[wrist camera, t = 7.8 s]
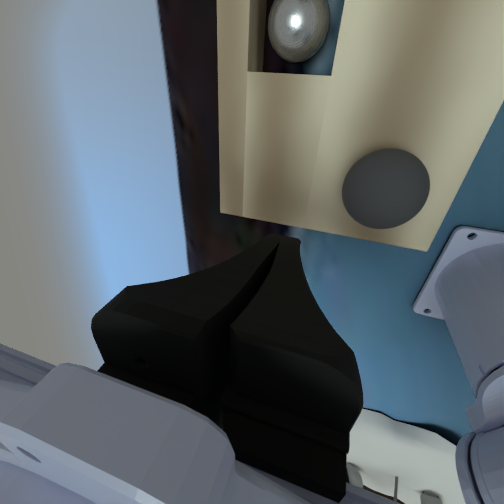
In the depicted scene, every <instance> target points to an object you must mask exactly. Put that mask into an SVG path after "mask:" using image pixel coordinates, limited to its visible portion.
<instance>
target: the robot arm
mask: <svg viewBox="0 0 504 504" xmlns="http://www.w3.org/2000/svg"><path fill="white" fill-rule="evenodd" d="M470 233H475V234H474V235H473V236H472V237H467V235H468V234H470ZM300 243H301V241H300V240H299V239H297V238H292V237H287V236H282V235H277V234H272V233H271V234H269V235H267V236H266V237H264V238H263V239H261V240H260V241H259V242H257V243H256V244H254V245H253V246H251V247H249V248H248V249H246V250H245V251H243V252H241V253H239V254H238V255H236V256H234V257H232V258H230V259H228V260H226V261H224V262H222V263H220V264H217V265H215V266H213V267H210V268H207V269H204V270H201V271H198V272H195V273H192V274H189V275H186V276H182V277H178V278H174V279H169V280H165V281H160V282H154V283H147V284H141V285H133V286H127V287H126V288H124V290H122V291H121V292H120V293H119V294H118V295H116V296H115V297H114V298H113V299H112V300H111V301H110V302H109V303H107V304H106V305H105V306H104V307H103V308H102V309H101V310H100V311H99V312H98V313H96V314H95V315H94V317H93V318H92V323H91V330H92V333H93V337H94V339H95V341H96V344H97V346H98V348H99V351H100V353H101V355H102V357H103V360H104V362H105V363H104V364H103V365H102V366H101V367H100V369H99V370H98V371H95V370H92V369H90V368H87V367H85V366H80V365H76V364H71V363H63V364H59V365H58V366H55V365H52V364H50V363H47V362H45V361H42V360H40V359H37V358H35V357H32V356H30V355H27V354H25V353H22V352H20V351H17V350H15V349H13V348H10V347H7V346H5V345H3V344H0V504H399V503H397V502H394V501H392V500H389V499H387V498H384V497H382V496H379V495H377V494H374V493H372V492H369V491H367V490H364V489H362V488H359V487H357V486H354V485H352V484H349V483H347V482H346V460H347V454H348V453H349V448H350V431H351V429H352V427H353V426H354V424H355V422H356V420H357V419H358V417H359V415H360V413H361V411H362V407H363V391H362V384H361V379H360V374H359V369H358V365H357V362H356V358H355V355H354V352H353V351H352V350H351V348H350V347H349V346H348V345H347V344H346V343H345V342H344V340H343V339H342V338H341V337H340V336H339V335H338V334H337V332H336V331H335V330H334V329H333V327H332V326H331V324H330V323H329V322H328V320H327V319H326V317H325V315H324V314H323V312H322V311H321V309H320V307H319V306H318V304H317V302H316V300H315V298H314V296H313V294H312V292H311V290H310V288H309V285H308V283H307V280H306V277H305V274H304V270H303V267H302V262H301V257H300ZM425 309H429V310H425ZM413 310H414V312H415V313H418V314H422V315H426V316H430V317H434V318H438V319H442V320H445V323H446V325H447V328H448V330H449V333H450V335H451V338H452V340H453V343H454V345H455V348H456V350H457V353H458V355H459V358H460V360H461V363H462V365H463V368H464V370H465V373H466V375H467V378H468V380H469V383H470V385H471V388H472V390H473V393H474V395H475V398H476V401H475V402H474V403H473V404H472V405H470V406H468V407H466V408H465V410H466V413H467V416H468V419H469V422H470V424H471V427H472V430H473V432H471V433H468V434H465V435H464V436H463V437H462V438H461V439H460V440H459V442H458V444H457V446H456V453H455V460H456V469H457V475H458V480H459V483H460V487H461V491H462V494H463V497H464V500H465V503H466V504H504V232H499V231H493V230H487V229H481V228H475V227H468V226H460V227H457V228H456V229H455V230H454V231H453V233H452V234H451V236H450V238H449V240H448V242H447V244H446V245H445V247H444V249H443V251H442V253H441V255H440V257H439V258H438V260H437V262H436V264H435V266H434V268H433V269H432V271H431V273H430V275H429V277H428V279H427V280H426V282H425V284H424V286H423V288H422V290H421V291H420V293H419V295H418V297H417V299H416V301H415V303H414V304H413ZM222 428H223V430H222Z"/></svg>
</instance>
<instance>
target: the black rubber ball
mask: <svg viewBox="0 0 504 504" xmlns="http://www.w3.org/2000/svg"><path fill="white" fill-rule="evenodd" d="M429 191H430V178H429V174H428V171H427V169H426V167H425V165H424V164H423V163H422V161H421V160H420V159H419V158H417V157H416V156H415V155H413V154H411V153H409V152H407V151H405V150H401V149H394V148H388V149H381V150H376V151H373V152H371V153H369V154H367V155H365V156H363V157H362V158H361V159H359V160H358V161H357V162H356V163H355V164H354V165H353V166H352V167H351V168H350V170H349V171H348V173H347V175H346V177H345V179H344V182H343V186H342V200H343V204H344V206H345V209H346V210H347V212H348V214H349V215H350V216H351V217H352V218H353V219H354V220H355V221H357V222H358V223H359V224H361V225H363V226H366V227H369V228H373V229H389V228H394V227H397V226H400V225H402V224H404V223H406V222H408V221H409V220H411V219H412V218H414V217H415V216H416V215H417V214H418V213H419V212H420V211H421V209H422V208H423V206H424V205H425V203H426V201H427V198H428V196H429Z"/></svg>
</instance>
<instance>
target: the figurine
mask: <svg viewBox="0 0 504 504" xmlns="http://www.w3.org/2000/svg"><path fill="white" fill-rule="evenodd" d="M455 453H456V446H455V445H454V444H452V443H450V442H449V441H447V440H446V439H444V438H443V437H441V436H440V435H438V434H437V433H434V432H431V431H428V430H425V429H422V428H419V427H416V426H413V425H409V424H405V423H402V422H398V421H394V420H392V419H391V418H389V417H387V416H385V415H383V414H381V413H378V412H374V411H370V410H366V409H362V411H361V413H360V415H359V417H358V419H357V420H356V422H355V424H354V426H353V427H352V429H351V431H350V448H349V453H348V454H347V460H346V482H347V483H349V484H352V485H354V486H357V487H359V488H362V489H363V485H365V486H367V487H369V488H371V489H373V490H375V491H378V492H380V493H383V494H385V495H389V496H393V497H394V502H397V498H398V499H399V500H401V501H402V502H404V503H405V504H466V503H465V500H464V497H463V494H462V491H461V487H460V483H459V480H458V475H457V469H456V460H455Z"/></svg>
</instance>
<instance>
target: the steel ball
mask: <svg viewBox="0 0 504 504" xmlns="http://www.w3.org/2000/svg"><path fill="white" fill-rule="evenodd" d="M329 24H330V10H329V5H328V1H327V0H275V1H274V2H273V5H272V7H271V10H270V13H269V19H268V34H269V39H270V42H271V45H272V47H273V49H274V50H275V52H276V53H277V54H278V55H279V56H280V57H281V58H282V59H284V60H286V61H289V62H302V61H305V60H307V59H309V58H311V57H312V56H313V55H314V54H315V53H316V52H317V51H318V50H319V49H320V48H321V46H322V44H323V43H324V41H325V39H326V36H327V33H328V30H329Z"/></svg>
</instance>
